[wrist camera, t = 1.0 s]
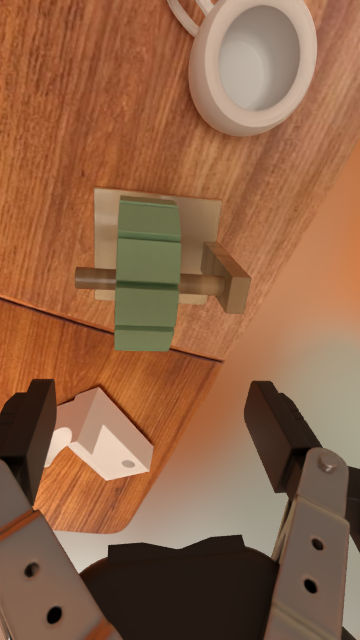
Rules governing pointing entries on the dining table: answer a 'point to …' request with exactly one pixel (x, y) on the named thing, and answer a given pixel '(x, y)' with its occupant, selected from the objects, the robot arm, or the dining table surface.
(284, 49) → the mug
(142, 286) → the green grooved wheel
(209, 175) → the dining table surface
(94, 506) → the dining table surface
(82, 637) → the robot arm
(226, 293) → the peg stand with base
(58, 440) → the bracket
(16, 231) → the dining table surface
